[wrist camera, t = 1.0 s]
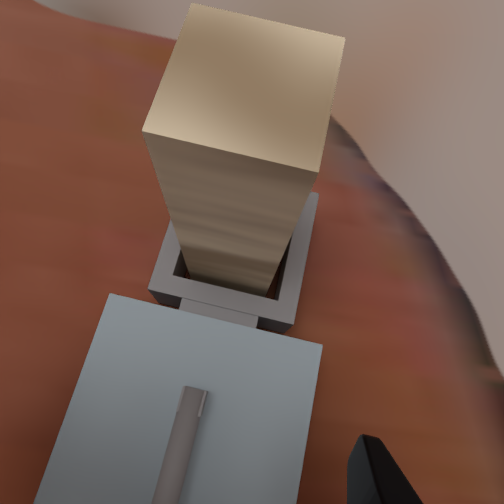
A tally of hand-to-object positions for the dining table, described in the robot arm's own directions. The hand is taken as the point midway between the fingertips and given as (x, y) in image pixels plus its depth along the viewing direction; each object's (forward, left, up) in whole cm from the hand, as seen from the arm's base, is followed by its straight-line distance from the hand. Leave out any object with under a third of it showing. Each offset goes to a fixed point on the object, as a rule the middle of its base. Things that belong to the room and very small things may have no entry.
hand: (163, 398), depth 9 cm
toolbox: (0, 0, -14) cm, 14 cm away
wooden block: (+8, -2, -14) cm, 16 cm away
